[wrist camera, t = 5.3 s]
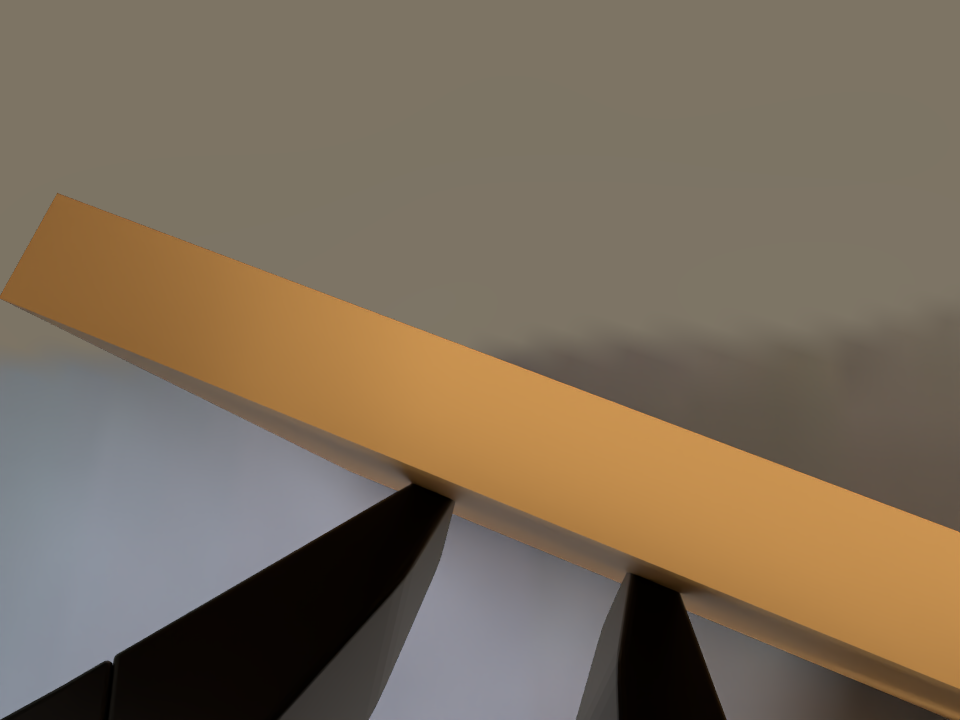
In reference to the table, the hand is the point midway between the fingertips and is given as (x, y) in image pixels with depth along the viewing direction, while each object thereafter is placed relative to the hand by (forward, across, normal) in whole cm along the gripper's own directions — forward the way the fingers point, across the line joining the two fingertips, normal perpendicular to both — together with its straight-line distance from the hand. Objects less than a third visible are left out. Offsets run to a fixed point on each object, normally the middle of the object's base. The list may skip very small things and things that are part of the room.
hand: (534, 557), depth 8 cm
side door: (+5, -4, +4) cm, 7 cm away
